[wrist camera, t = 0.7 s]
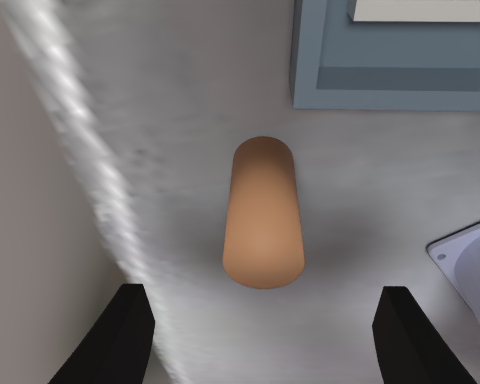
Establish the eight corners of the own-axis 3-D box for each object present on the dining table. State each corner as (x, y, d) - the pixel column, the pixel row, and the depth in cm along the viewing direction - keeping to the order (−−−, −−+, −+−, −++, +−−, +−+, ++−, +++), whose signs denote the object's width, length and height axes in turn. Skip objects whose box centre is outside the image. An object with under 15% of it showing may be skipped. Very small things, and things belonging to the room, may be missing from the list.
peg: (305, 166, 20) (320, 268, 15) (258, 194, 22) (256, 298, 16) (268, 125, 19) (271, 221, 13) (220, 158, 20) (205, 258, 15)
